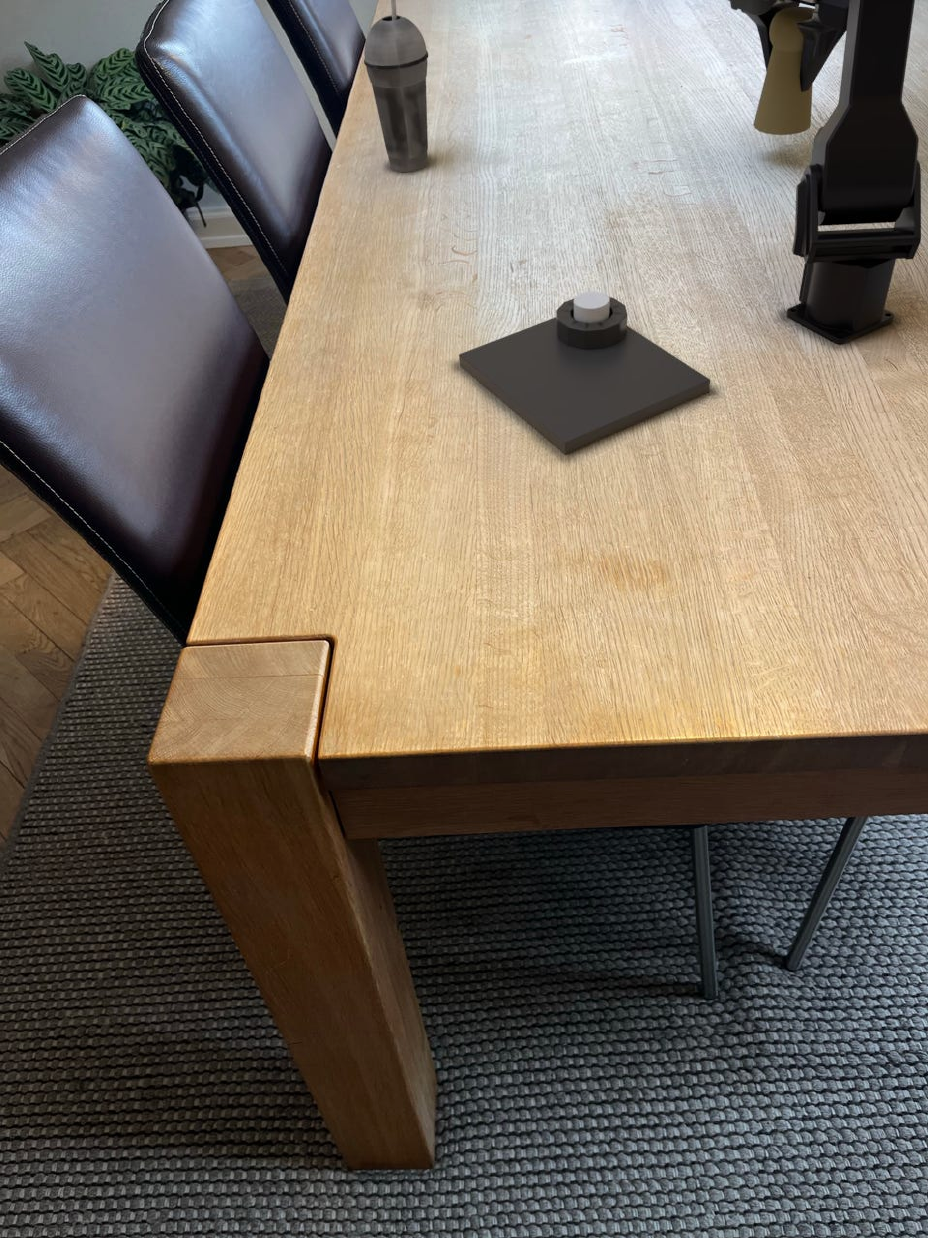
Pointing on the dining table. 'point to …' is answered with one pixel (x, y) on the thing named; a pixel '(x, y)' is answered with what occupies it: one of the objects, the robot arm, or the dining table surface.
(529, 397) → the scale
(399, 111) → the beverage cup
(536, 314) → the dining table surface
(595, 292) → the button
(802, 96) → the tan pawn
